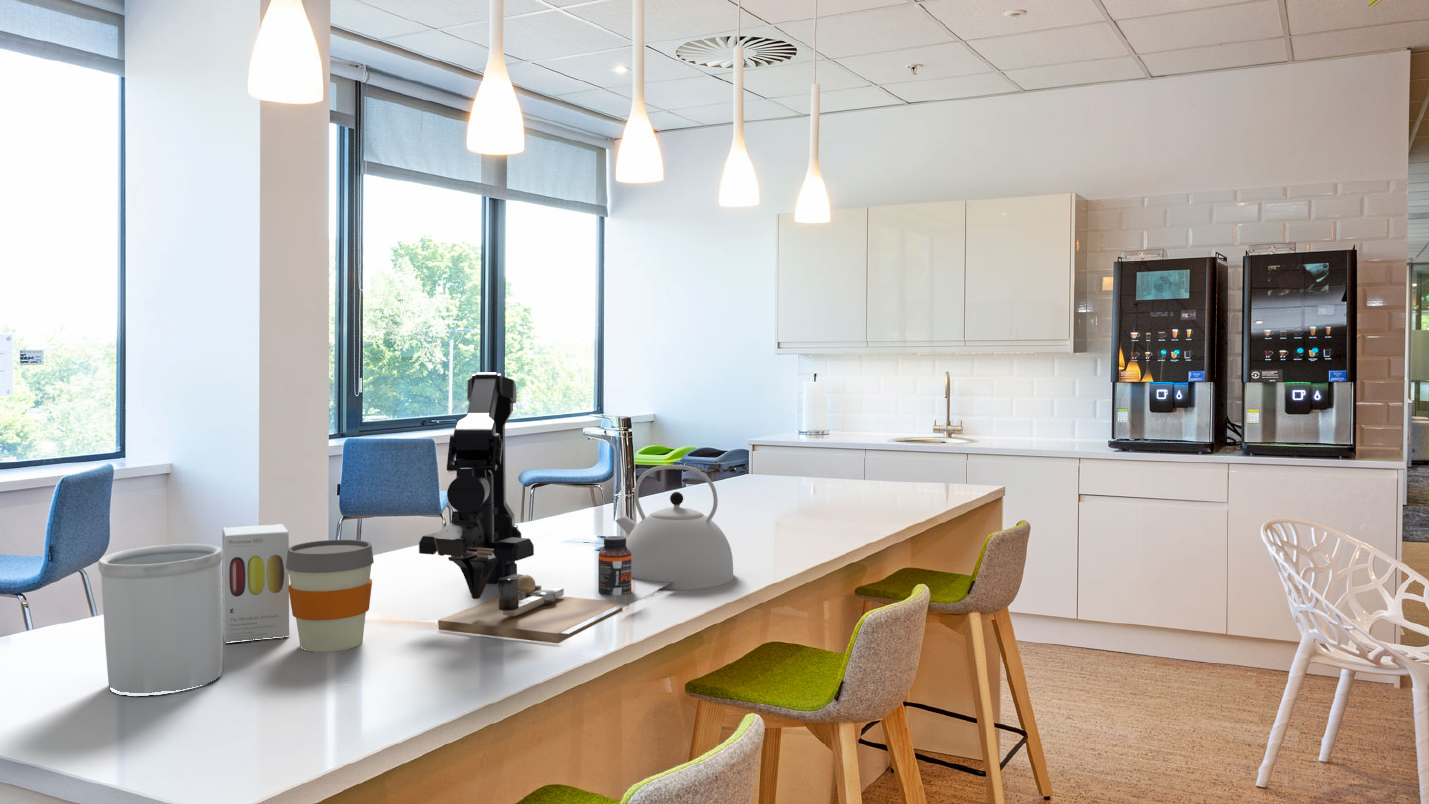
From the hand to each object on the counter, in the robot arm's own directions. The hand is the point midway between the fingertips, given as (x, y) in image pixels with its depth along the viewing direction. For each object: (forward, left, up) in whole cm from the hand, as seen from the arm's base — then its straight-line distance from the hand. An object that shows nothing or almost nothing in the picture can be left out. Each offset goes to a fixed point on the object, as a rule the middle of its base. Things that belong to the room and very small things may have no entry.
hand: (476, 598), depth 171 cm
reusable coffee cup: (-14, -18, -5) cm, 23 cm away
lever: (+6, +8, -2) cm, 10 cm away
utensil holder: (-22, -41, -5) cm, 46 cm away
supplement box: (-29, -18, -5) cm, 34 cm away
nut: (-1, +16, -3) cm, 16 cm away
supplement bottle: (+13, +24, -5) cm, 28 cm away
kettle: (+14, +46, -5) cm, 49 cm away
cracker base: (+7, +6, -4) cm, 10 cm away
